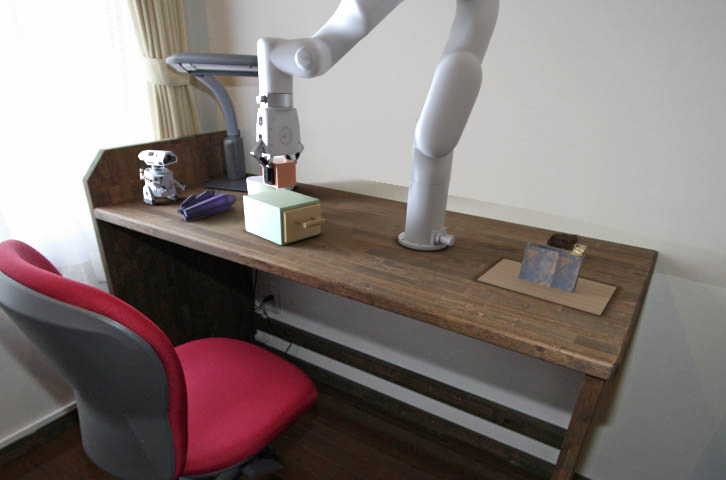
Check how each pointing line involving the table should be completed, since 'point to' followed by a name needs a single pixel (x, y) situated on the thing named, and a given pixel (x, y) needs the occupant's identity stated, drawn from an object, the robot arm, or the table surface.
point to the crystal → (205, 204)
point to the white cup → (257, 185)
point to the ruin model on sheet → (551, 278)
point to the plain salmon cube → (283, 173)
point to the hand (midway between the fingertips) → (279, 181)
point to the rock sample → (563, 241)
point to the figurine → (159, 175)
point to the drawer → (301, 222)
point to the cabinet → (272, 212)
